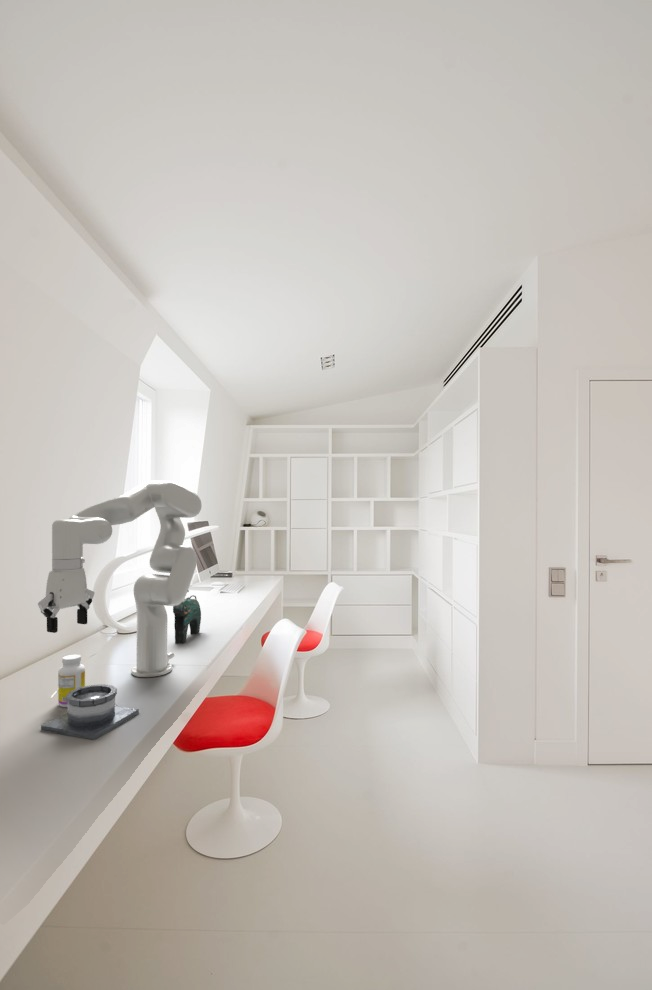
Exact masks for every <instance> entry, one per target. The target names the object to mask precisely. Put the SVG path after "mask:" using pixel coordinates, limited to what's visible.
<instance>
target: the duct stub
mask: <svg viewBox="0 0 652 990" xmlns="http://www.w3.org/2000/svg"><path fill="white" fill-rule="evenodd" d="M117 694H118V689H117V688H116V687H115V686H114V685H112V684H102V683H101V684H89V685H85V686H84V687H80V688H77V689H75V690H72V691H70V692H69V693H68V694H67V695H66V702H67V703H68V707H67V712H65V713H64V714H61V715H59V716H57V717H56V718H54V719H52V720H49V721H46V723H43V724H41V725H40V731H41V732H49V733H52V734H60V735H64V736H69V737H70V736H71V737H77V738H83V739H88V740H92V741H95V740H97V739H98V738H100V737H102V736H105V734H107V733H109V732H111V731H112V730H114V729H115V728H118V725H119V726H120V725H122V724H123V722H124V723H126V722H127V721H128V719H129V720H130V718H131V719H132V718H134V717H136V716H138V715H139V714H140V713H139V712H140V711H139V710H140V709H139V708H135V707H134V708H133V707H127V706H121V705H120V706H119V705H116V696H117ZM135 715H136V716H135ZM133 716H134V717H133ZM126 720H127V721H126ZM125 721H126V722H125ZM113 728H114V729H113Z"/></svg>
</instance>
